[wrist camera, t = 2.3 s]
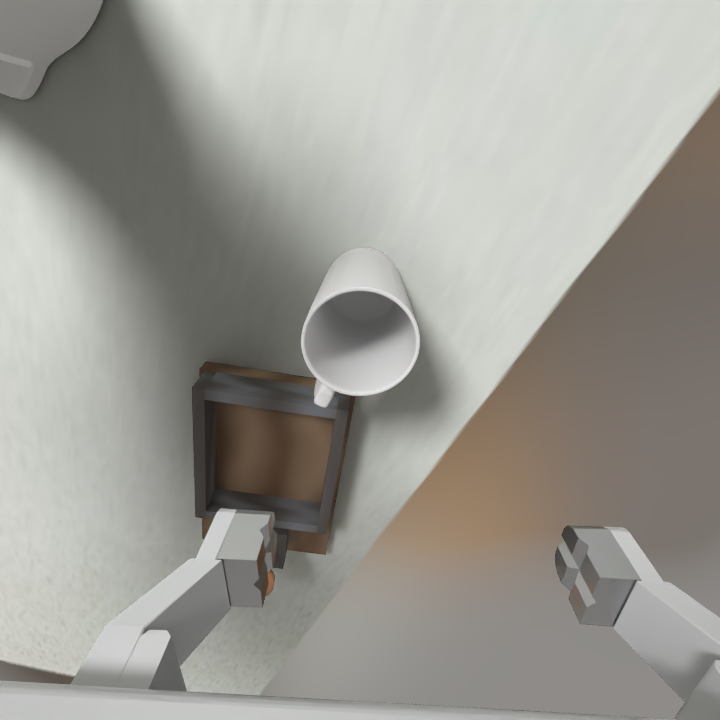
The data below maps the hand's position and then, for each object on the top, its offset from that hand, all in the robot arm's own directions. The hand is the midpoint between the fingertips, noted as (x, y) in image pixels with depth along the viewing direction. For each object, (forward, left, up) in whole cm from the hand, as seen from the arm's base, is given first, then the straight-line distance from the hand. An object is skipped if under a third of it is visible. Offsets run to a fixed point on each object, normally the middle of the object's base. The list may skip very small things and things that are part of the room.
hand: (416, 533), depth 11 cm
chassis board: (-8, -21, -25) cm, 33 cm away
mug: (-2, -2, -25) cm, 25 cm away
